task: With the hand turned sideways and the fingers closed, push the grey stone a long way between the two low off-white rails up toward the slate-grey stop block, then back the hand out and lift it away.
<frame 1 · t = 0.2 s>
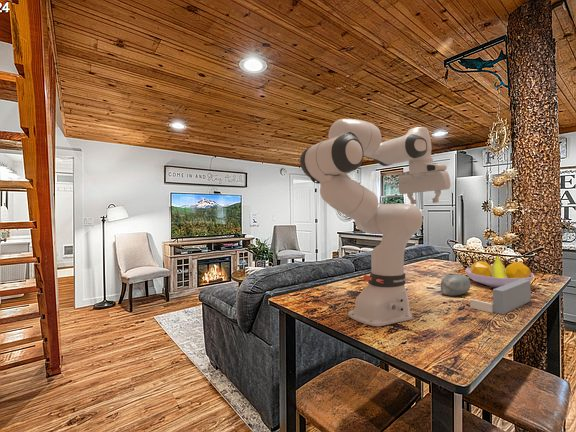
hand: (424, 203, 116), 39 cm above the table, fingers open, 8 cm apart
fruit bowl: (499, 284, 137), on the table
grey stone: (455, 294, 124), on the table
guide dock: (492, 301, 112), on the table
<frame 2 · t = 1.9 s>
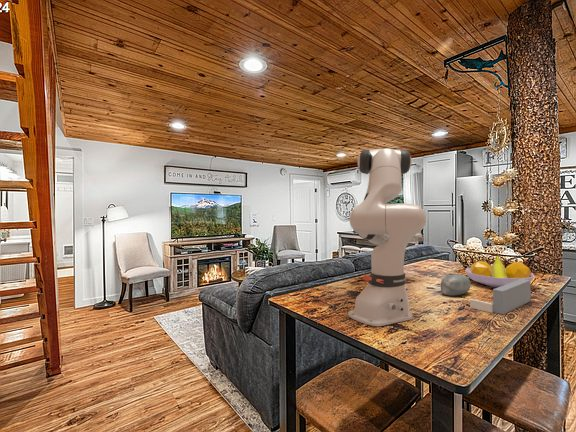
hand: (419, 239, 137), 22 cm above the table, fingers open, 5 cm apart
nothing on the table moved.
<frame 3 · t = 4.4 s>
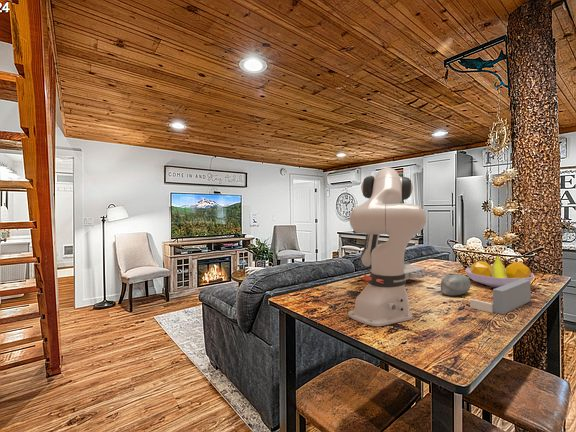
hand: (422, 276, 136), 5 cm above the table, fingers closed
nothing on the table moved.
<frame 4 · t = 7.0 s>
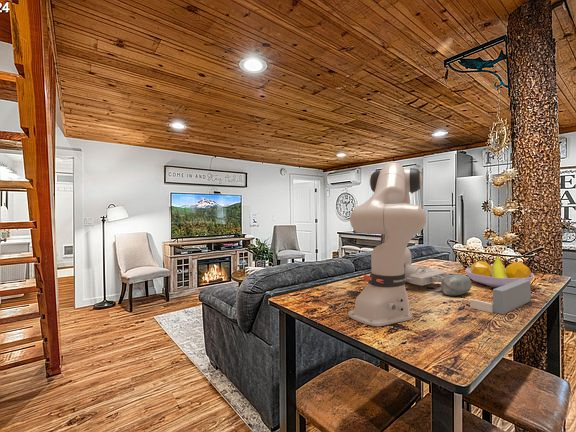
hand: (445, 280, 127), 5 cm above the table, fingers closed
grey stone: (456, 294, 123), on the table, touching gripper
everything else where it was.
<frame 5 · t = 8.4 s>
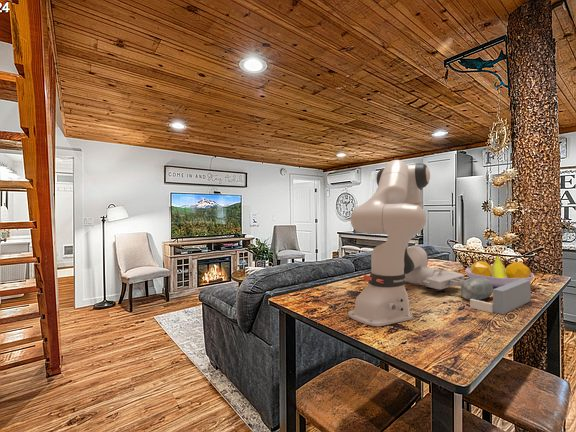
hand: (464, 284, 120), 5 cm above the table, fingers closed
grey stone: (476, 299, 116), on the table, touching gripper
everything else where it was.
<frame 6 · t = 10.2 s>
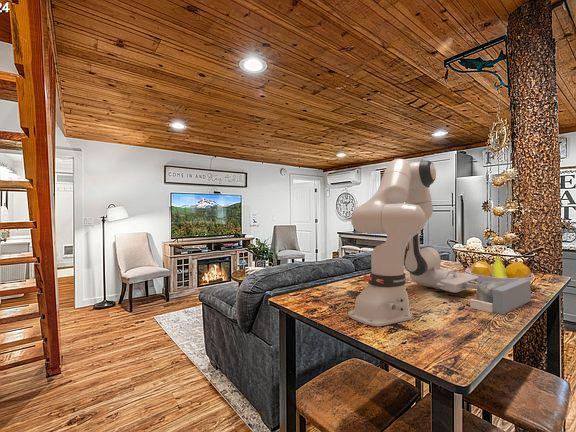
hand: (481, 286, 115), 5 cm above the table, fingers closed
grey stone: (493, 302, 111), on the table, touching gripper, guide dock
everything else where it was.
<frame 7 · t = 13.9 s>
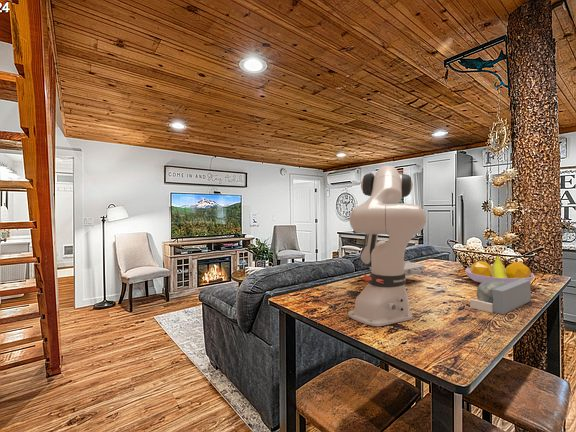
hand: (422, 272, 136), 7 cm above the table, fingers closed
grey stone: (493, 303, 111), on the table
everything else where it was.
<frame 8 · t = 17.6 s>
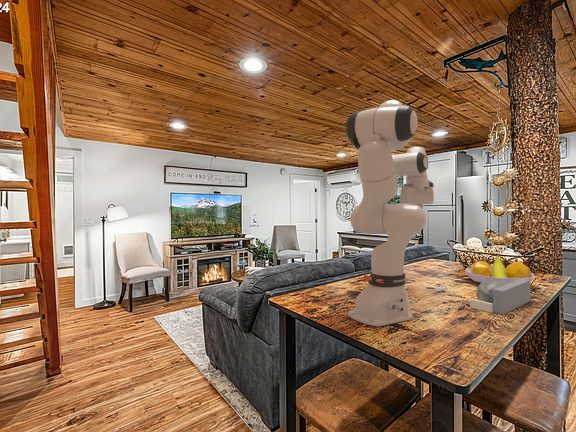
hand: (417, 214, 131), 34 cm above the table, fingers closed
nothing on the table moved.
at the end: grey stone inside the target area (2.0 cm from its centre), on the table; grey stone moved 14.5 cm from its start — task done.
